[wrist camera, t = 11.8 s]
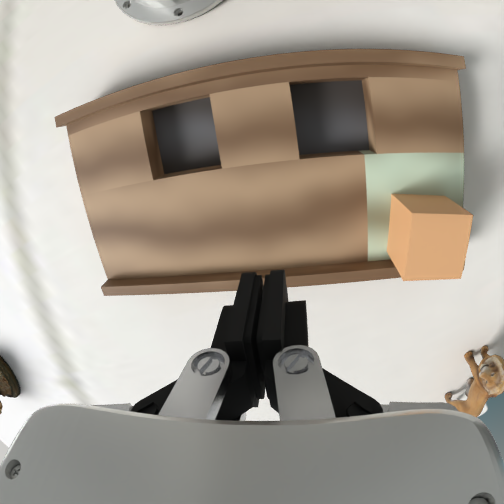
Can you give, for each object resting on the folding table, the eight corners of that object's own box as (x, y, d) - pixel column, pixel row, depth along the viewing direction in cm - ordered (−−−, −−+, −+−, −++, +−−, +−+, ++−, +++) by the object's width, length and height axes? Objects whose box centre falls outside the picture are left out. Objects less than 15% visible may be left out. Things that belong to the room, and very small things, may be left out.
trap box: (82, 113, 26) (54, 117, 22) (440, 62, 20) (463, 56, 16) (123, 274, 33) (104, 295, 29) (444, 249, 27) (463, 270, 23)
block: (391, 193, 23) (412, 213, 19) (444, 195, 22) (473, 215, 18) (386, 251, 25) (403, 280, 21) (437, 250, 24) (460, 278, 20)
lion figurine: (463, 331, 31) (491, 383, 23) (495, 324, 30) (526, 371, 22) (440, 405, 37) (454, 452, 29) (469, 397, 36) (486, 441, 28)
